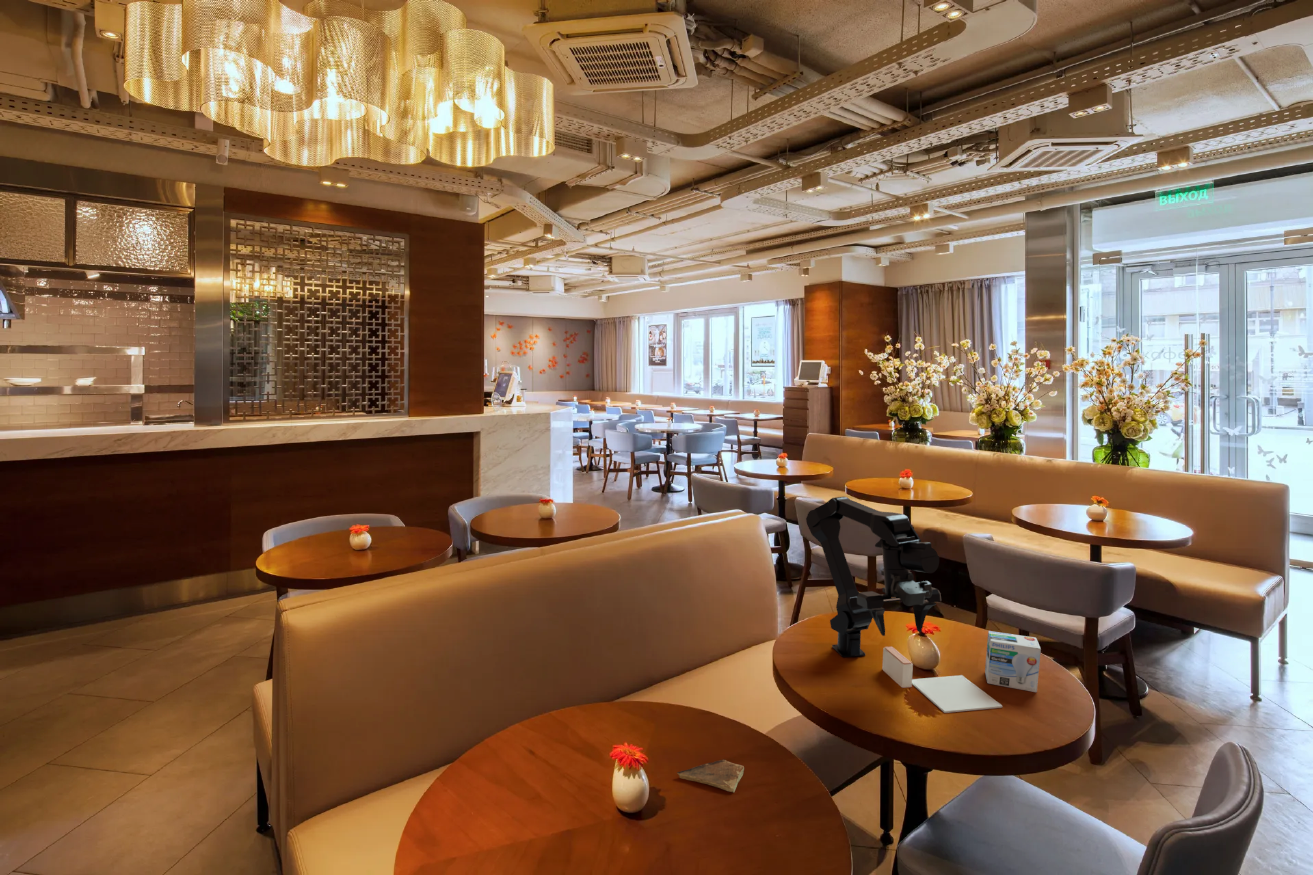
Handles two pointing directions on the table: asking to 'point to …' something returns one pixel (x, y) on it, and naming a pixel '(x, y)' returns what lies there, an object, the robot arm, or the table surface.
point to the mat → (955, 694)
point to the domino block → (897, 667)
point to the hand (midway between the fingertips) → (901, 633)
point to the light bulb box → (1012, 661)
